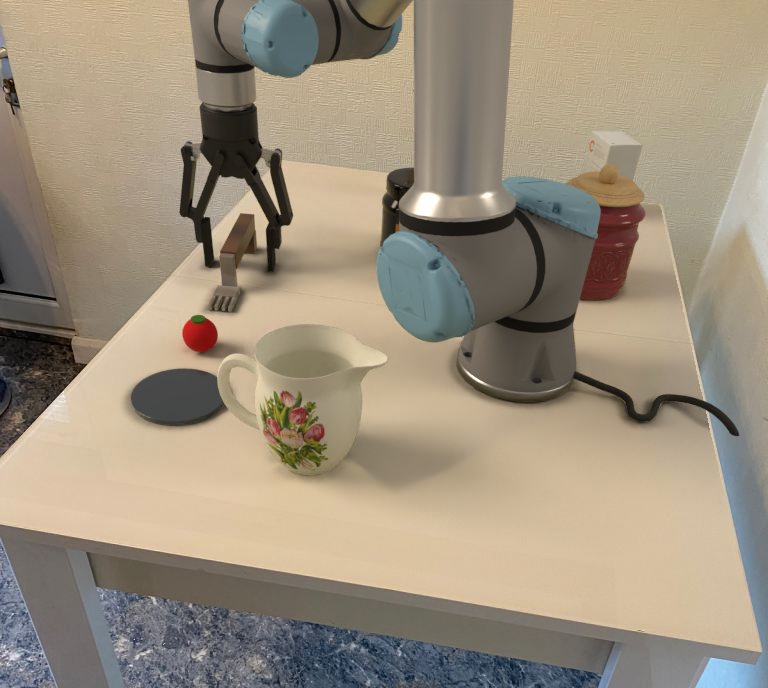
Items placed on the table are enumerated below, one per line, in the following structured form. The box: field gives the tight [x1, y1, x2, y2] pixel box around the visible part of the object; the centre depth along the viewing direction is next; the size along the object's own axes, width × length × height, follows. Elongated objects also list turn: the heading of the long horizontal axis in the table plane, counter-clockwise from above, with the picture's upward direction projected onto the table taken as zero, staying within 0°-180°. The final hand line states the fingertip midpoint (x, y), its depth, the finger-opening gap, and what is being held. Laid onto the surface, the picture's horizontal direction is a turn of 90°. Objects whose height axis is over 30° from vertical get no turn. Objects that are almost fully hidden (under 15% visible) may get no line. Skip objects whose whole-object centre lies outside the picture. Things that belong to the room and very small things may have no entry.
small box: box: [581, 130, 643, 181], centre depth 134 cm, size 8×6×13 cm
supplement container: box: [379, 167, 414, 249], centre depth 116 cm, size 10×10×12 cm
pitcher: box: [216, 323, 389, 476], centre depth 76 cm, size 11×18×14 cm, turn 75°
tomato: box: [181, 314, 219, 353], centre depth 94 cm, size 4×4×4 cm
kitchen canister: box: [565, 164, 646, 301], centre depth 110 cm, size 13×13×18 cm
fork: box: [207, 212, 258, 312], centre depth 108 cm, size 21×3×6 cm, turn 176°
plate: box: [130, 368, 225, 426], centre depth 87 cm, size 11×11×1 cm
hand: (240, 265), depth 113 cm, fingers open, 9 cm apart
